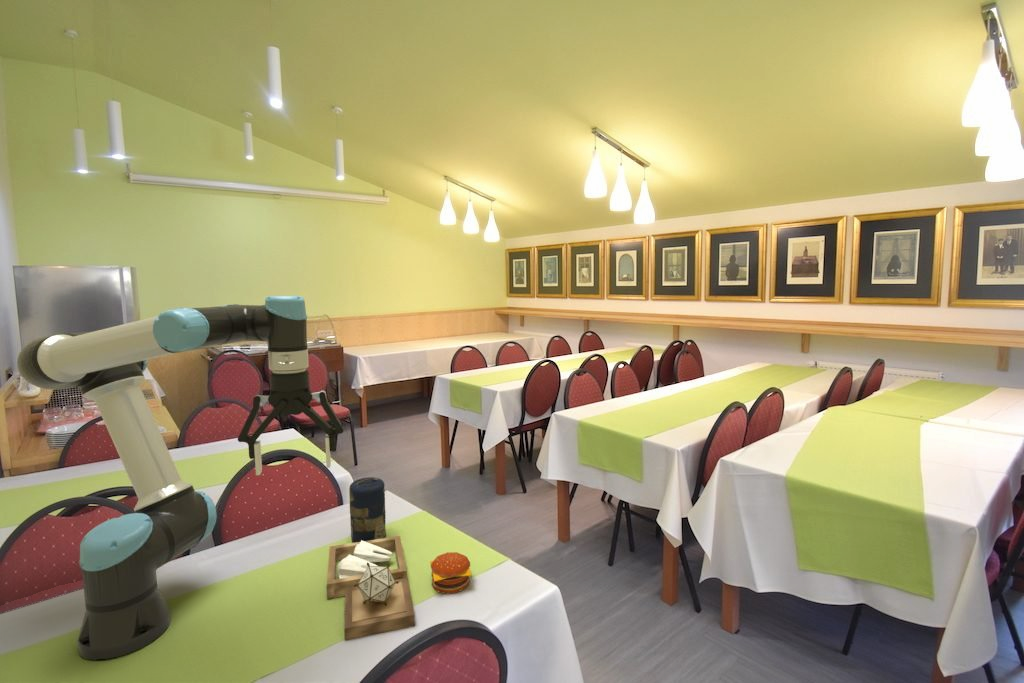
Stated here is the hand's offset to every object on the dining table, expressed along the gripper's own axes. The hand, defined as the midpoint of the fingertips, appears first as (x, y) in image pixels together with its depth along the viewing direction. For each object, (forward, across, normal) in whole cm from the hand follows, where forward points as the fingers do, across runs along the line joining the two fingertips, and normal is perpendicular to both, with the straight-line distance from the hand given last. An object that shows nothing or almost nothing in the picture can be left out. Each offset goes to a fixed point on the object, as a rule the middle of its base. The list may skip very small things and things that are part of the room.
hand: (294, 469), depth 107 cm
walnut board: (+32, +16, -5) cm, 37 cm away
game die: (+30, +16, -5) cm, 34 cm away
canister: (+33, +15, +28) cm, 46 cm away
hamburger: (+33, +33, +1) cm, 47 cm away
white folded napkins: (+33, +14, +12) cm, 38 cm away
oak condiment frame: (+32, +14, +12) cm, 37 cm away
